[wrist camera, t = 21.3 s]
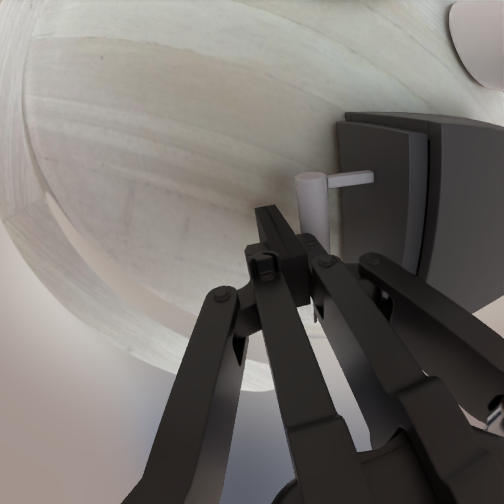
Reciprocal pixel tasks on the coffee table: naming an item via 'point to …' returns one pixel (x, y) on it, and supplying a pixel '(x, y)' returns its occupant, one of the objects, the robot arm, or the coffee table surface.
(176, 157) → the coffee table surface
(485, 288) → the dark drawer box
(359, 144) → the pull-out drawer
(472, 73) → the cup
